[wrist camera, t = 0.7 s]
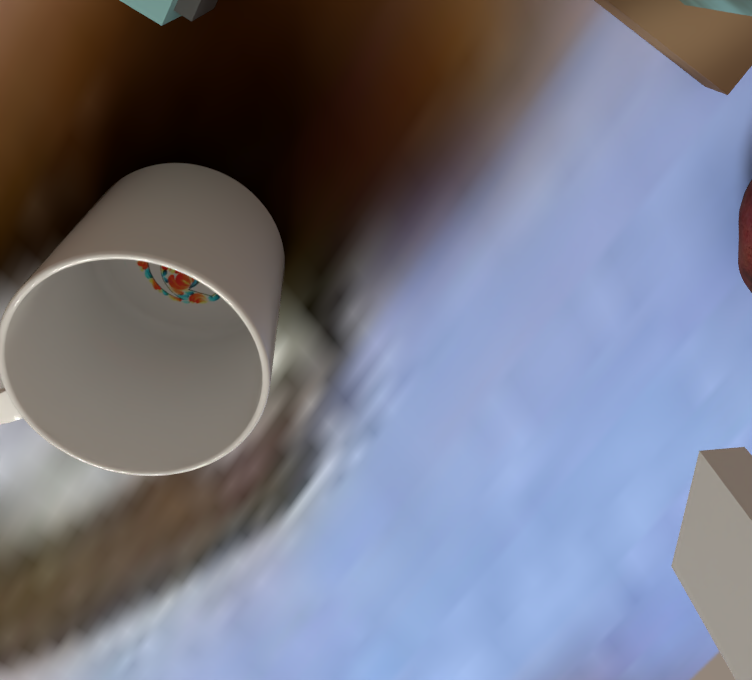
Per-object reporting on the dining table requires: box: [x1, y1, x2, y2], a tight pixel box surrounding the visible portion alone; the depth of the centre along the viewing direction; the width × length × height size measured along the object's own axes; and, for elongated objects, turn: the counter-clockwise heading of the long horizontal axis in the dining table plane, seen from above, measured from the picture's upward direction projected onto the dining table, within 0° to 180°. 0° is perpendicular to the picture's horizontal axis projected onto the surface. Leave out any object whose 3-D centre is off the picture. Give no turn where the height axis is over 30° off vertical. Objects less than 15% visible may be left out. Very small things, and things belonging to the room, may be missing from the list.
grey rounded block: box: [0, 163, 285, 476], centre depth 28 cm, size 12×9×11 cm
